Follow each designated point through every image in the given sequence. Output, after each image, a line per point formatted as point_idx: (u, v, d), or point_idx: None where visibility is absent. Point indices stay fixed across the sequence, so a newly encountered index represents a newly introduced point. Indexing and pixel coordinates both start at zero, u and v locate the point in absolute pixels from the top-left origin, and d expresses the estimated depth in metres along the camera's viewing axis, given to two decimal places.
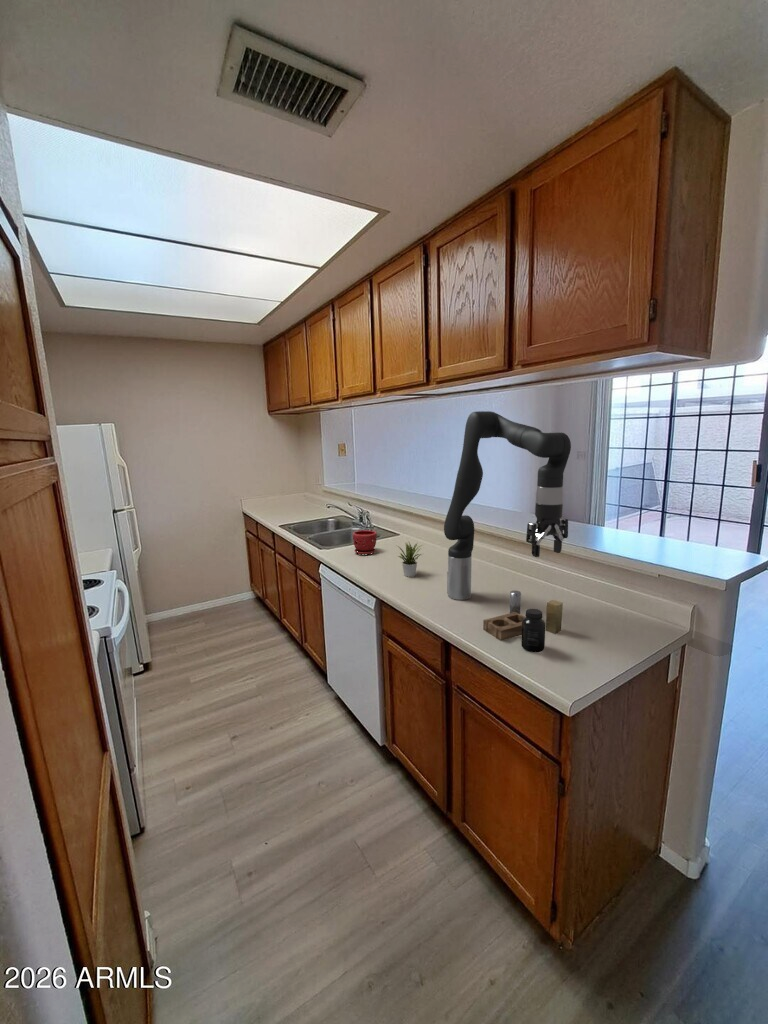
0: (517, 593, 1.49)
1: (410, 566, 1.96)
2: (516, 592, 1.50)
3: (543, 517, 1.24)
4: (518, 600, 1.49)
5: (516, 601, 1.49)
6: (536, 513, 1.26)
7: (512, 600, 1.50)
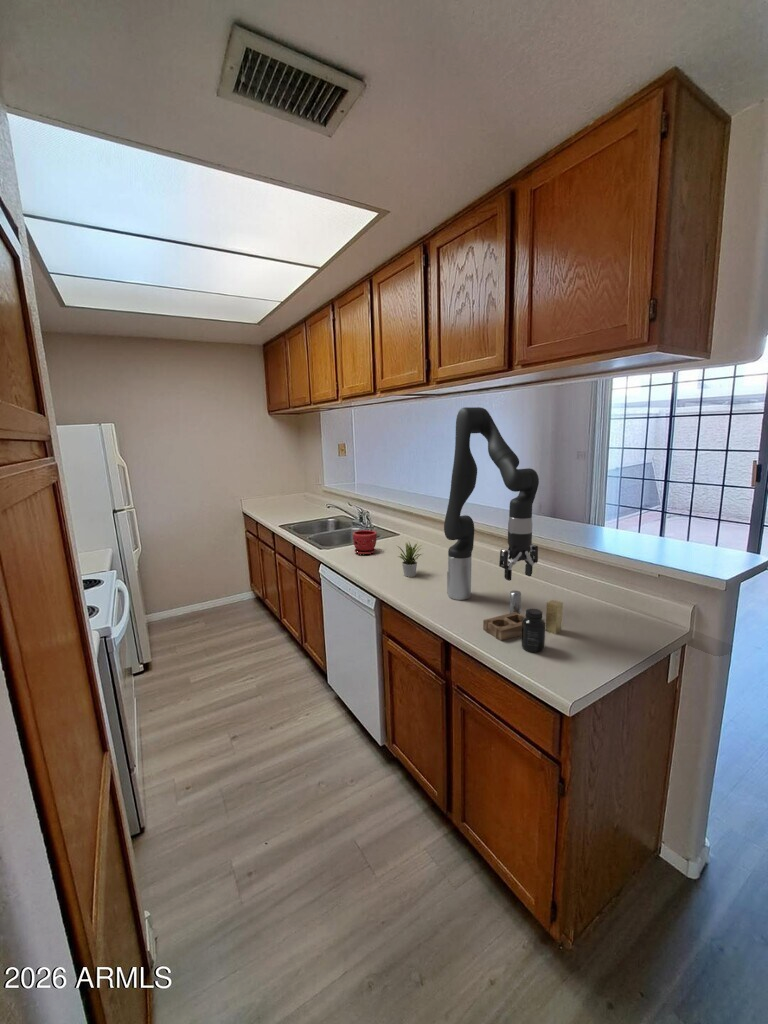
0: (517, 593, 1.49)
1: (410, 566, 1.96)
2: (516, 592, 1.50)
3: (514, 545, 1.37)
4: (518, 600, 1.49)
5: (516, 601, 1.49)
6: (508, 541, 1.39)
7: (512, 600, 1.50)
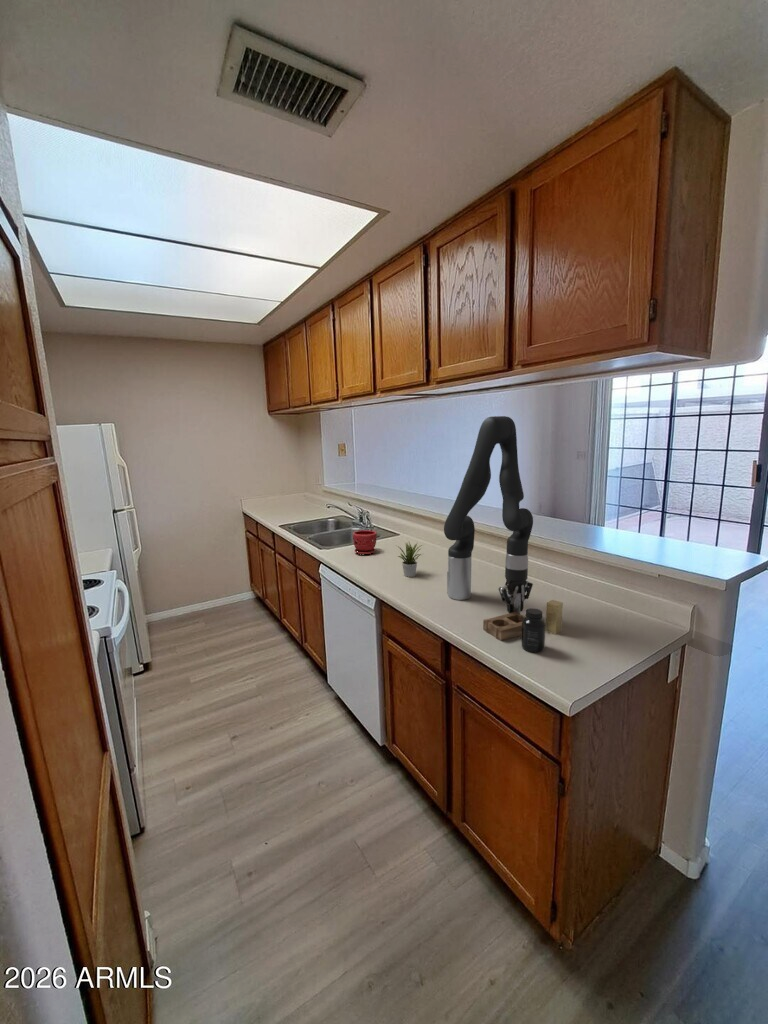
0: (517, 593, 1.49)
1: (410, 566, 1.96)
2: None
3: (511, 580, 1.47)
4: (518, 600, 1.49)
5: (516, 601, 1.49)
6: (506, 575, 1.49)
7: None
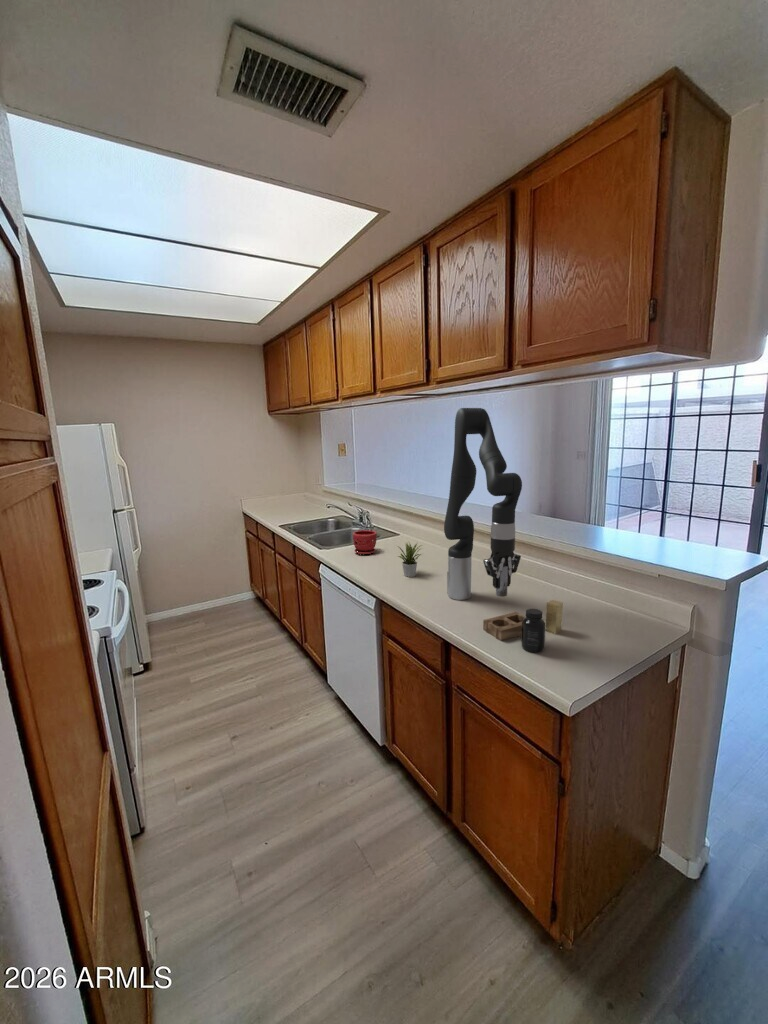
0: (503, 566, 1.37)
1: (410, 566, 1.96)
2: None
3: (497, 550, 1.34)
4: (505, 573, 1.37)
5: (503, 574, 1.37)
6: (491, 546, 1.36)
7: None
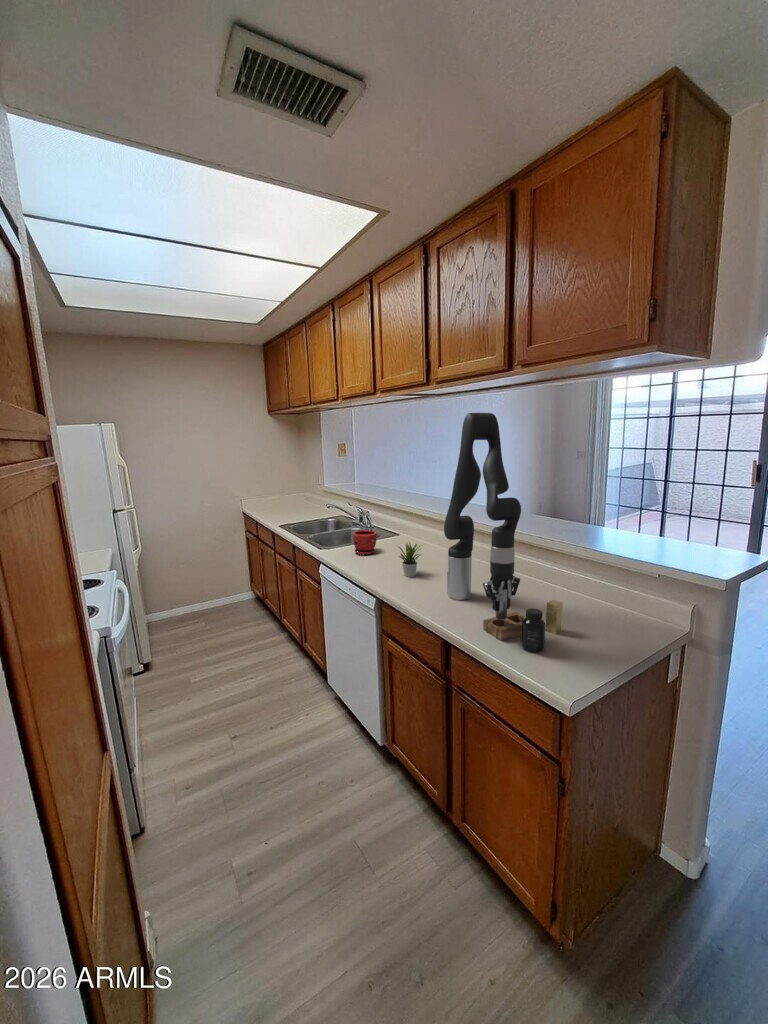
0: (503, 589, 1.38)
1: (410, 566, 1.96)
2: None
3: (496, 574, 1.36)
4: (504, 596, 1.38)
5: (503, 597, 1.38)
6: (490, 570, 1.38)
7: None
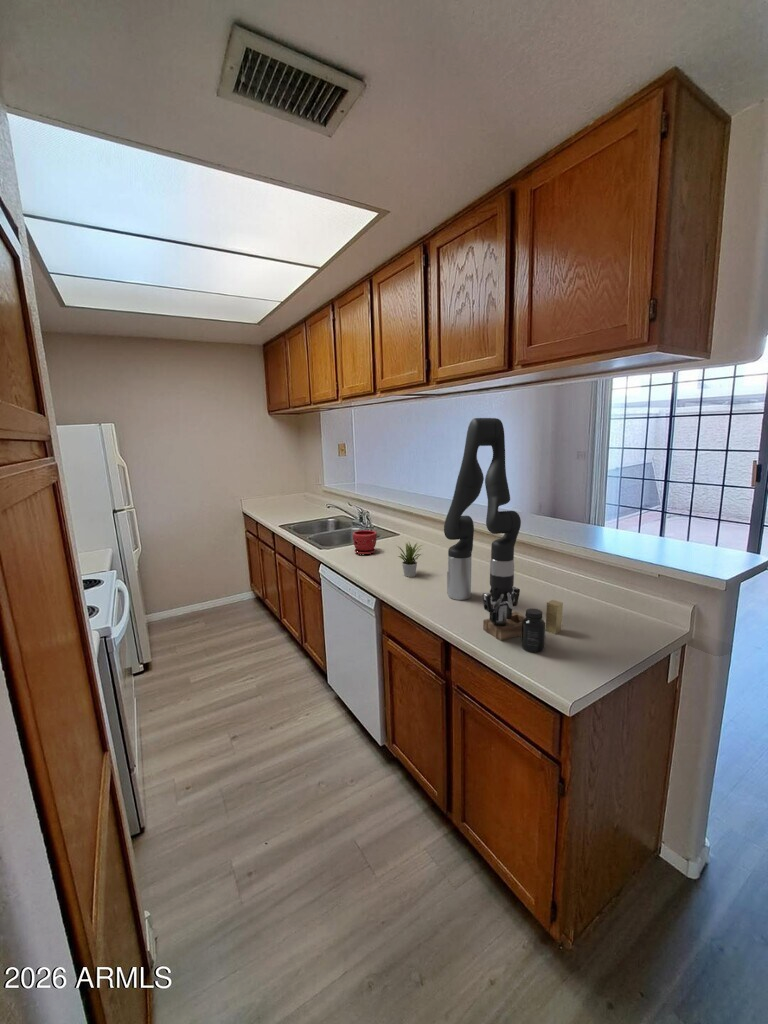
0: (502, 605, 1.39)
1: (410, 566, 1.96)
2: (502, 604, 1.40)
3: (496, 587, 1.36)
4: (504, 613, 1.39)
5: (502, 613, 1.39)
6: (490, 582, 1.39)
7: (497, 613, 1.40)
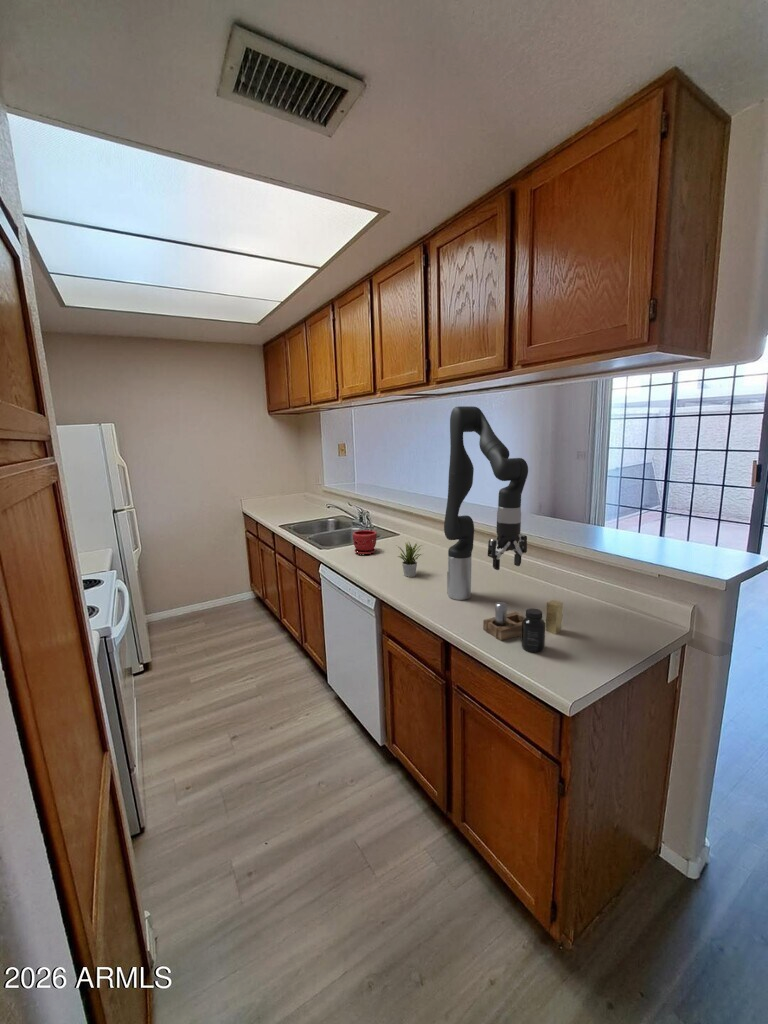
0: (502, 605, 1.39)
1: (410, 566, 1.96)
2: (502, 604, 1.40)
3: (502, 534, 1.37)
4: (504, 612, 1.39)
5: (502, 613, 1.39)
6: (497, 530, 1.39)
7: (497, 612, 1.40)
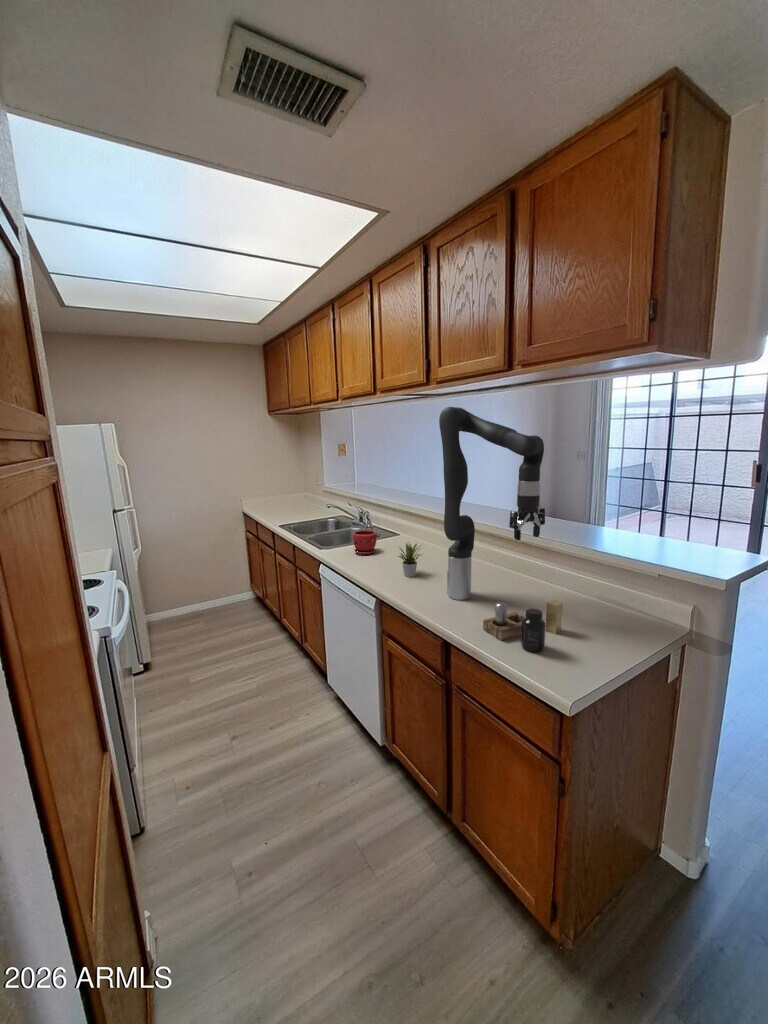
0: (502, 605, 1.39)
1: (410, 566, 1.96)
2: (502, 604, 1.40)
3: (523, 506, 1.48)
4: (504, 612, 1.39)
5: (502, 613, 1.39)
6: (518, 503, 1.50)
7: (497, 612, 1.40)
